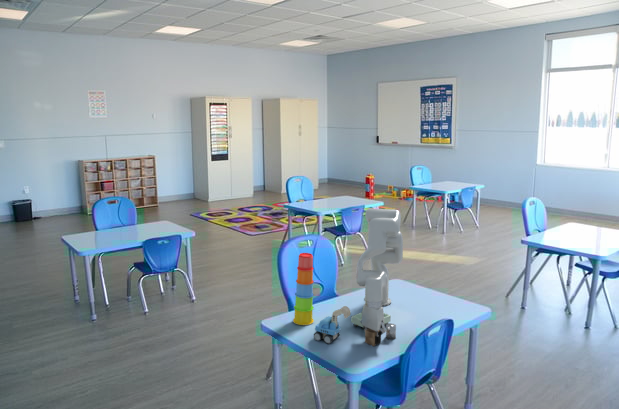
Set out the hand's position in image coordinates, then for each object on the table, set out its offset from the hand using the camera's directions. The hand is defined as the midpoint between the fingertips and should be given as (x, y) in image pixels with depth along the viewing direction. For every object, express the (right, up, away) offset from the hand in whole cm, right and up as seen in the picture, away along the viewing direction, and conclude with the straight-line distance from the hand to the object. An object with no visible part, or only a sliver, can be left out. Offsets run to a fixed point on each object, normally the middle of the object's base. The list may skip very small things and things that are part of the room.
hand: (373, 341), depth 225 cm
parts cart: (+1, +3, +18) cm, 18 cm away
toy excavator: (-18, -1, +3) cm, 18 cm away
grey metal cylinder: (+9, 0, +5) cm, 10 cm away
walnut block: (0, -1, 0) cm, 1 cm away
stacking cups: (-32, +3, +24) cm, 40 cm away
